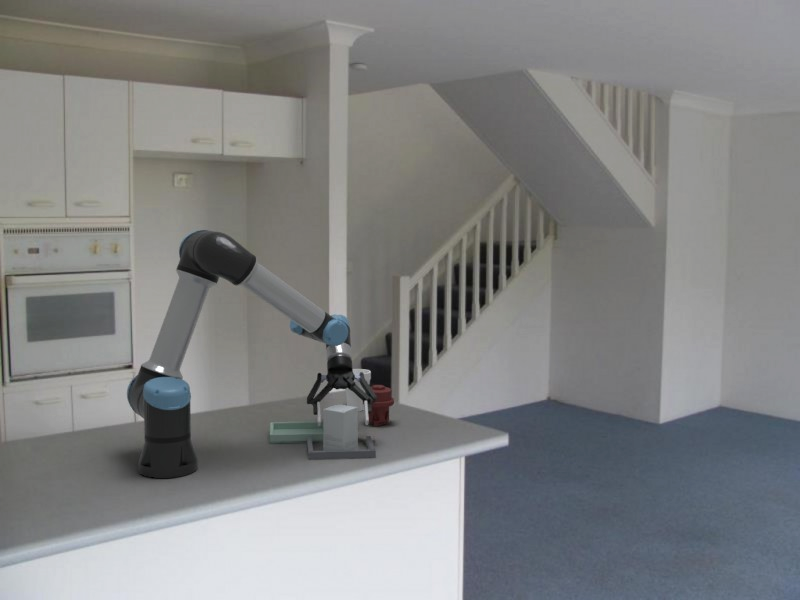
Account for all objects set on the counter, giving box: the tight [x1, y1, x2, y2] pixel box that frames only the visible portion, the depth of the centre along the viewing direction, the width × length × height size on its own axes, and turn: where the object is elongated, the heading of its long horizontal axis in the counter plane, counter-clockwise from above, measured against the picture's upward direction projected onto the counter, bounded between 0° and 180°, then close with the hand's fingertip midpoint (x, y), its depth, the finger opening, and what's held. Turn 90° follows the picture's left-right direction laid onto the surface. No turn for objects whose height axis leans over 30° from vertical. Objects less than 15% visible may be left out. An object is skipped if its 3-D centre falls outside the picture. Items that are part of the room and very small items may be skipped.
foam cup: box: [344, 368, 372, 412], centre depth 283 cm, size 10×9×13 cm
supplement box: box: [322, 403, 359, 451], centre depth 234 cm, size 7×7×13 cm
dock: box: [306, 435, 377, 460], centre depth 235 cm, size 18×15×2 cm
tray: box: [269, 420, 323, 445], centre depth 249 cm, size 20×14×3 cm
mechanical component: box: [363, 384, 395, 427], centre depth 264 cm, size 12×10×10 cm
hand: (343, 423), depth 235 cm, fingers open, 13 cm apart
